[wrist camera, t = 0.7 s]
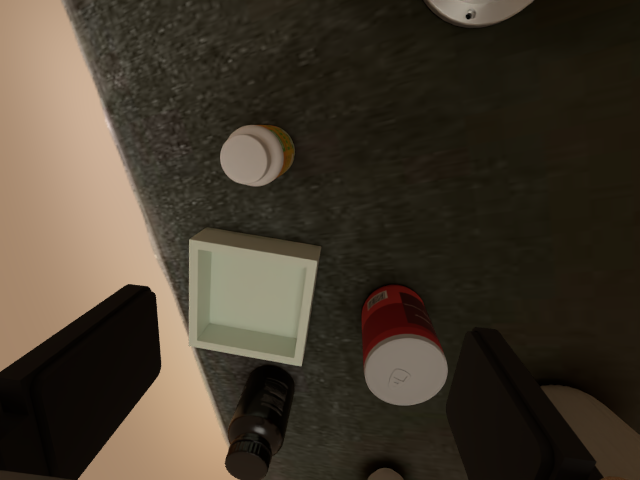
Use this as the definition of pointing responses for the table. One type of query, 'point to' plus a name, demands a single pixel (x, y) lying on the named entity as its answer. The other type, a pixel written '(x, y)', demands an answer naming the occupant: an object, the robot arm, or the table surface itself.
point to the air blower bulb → (385, 475)
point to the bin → (251, 294)
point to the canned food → (401, 347)
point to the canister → (599, 431)
